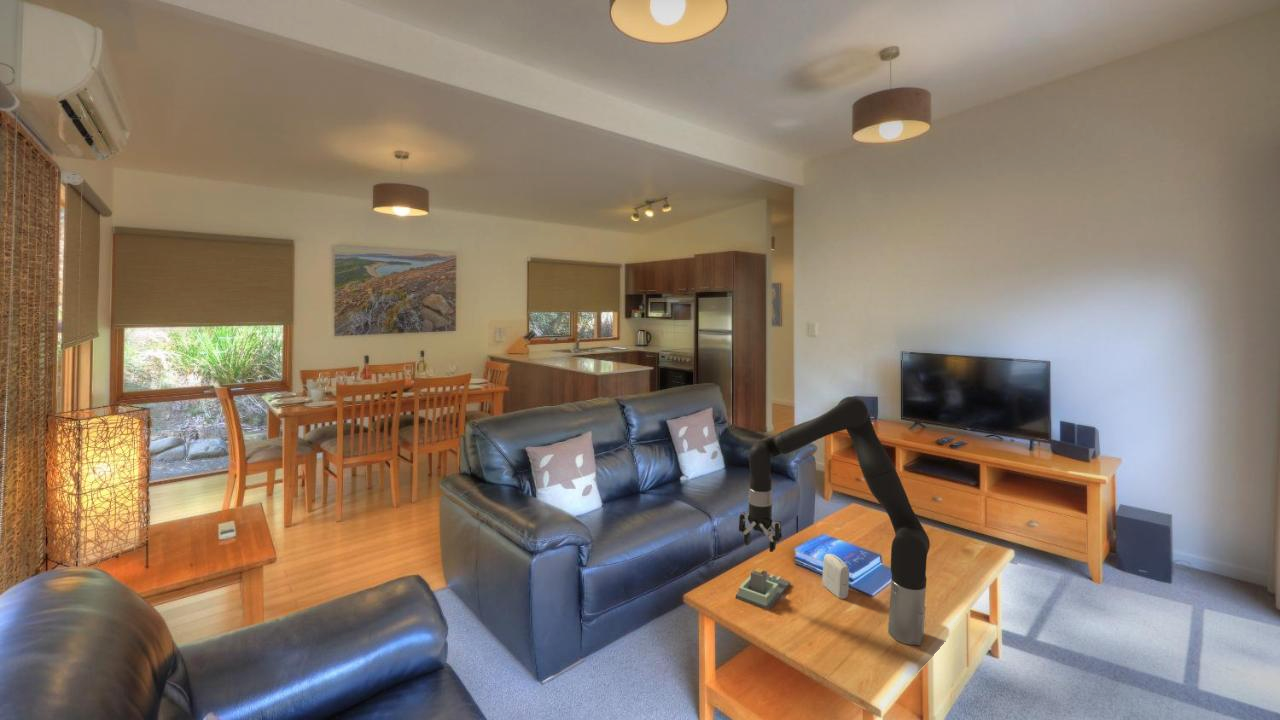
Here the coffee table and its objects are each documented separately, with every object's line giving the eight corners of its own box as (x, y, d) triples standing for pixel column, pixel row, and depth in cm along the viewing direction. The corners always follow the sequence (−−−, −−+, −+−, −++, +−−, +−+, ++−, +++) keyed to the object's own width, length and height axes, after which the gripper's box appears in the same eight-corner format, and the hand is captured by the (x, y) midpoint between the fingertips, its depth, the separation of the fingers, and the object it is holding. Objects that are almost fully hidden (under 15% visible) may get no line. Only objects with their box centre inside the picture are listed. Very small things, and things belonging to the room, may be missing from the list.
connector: (766, 593, 175) (766, 569, 174) (761, 598, 172) (762, 574, 171) (755, 589, 178) (755, 565, 177) (750, 594, 174) (750, 570, 173)
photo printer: (850, 598, 175) (851, 563, 173) (839, 600, 173) (841, 565, 172) (830, 582, 184) (832, 549, 183) (820, 584, 183) (821, 551, 182)
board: (790, 584, 183) (790, 575, 182) (769, 610, 167) (769, 600, 167) (758, 574, 190) (758, 564, 189) (735, 598, 175) (735, 587, 174)
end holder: (777, 592, 176) (778, 584, 176) (766, 606, 168) (766, 597, 168) (750, 582, 182) (751, 574, 181) (738, 595, 174) (738, 587, 173)
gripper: (785, 502, 170) (784, 549, 172) (745, 493, 178) (744, 538, 180) (776, 509, 164) (775, 558, 166) (735, 500, 172) (735, 546, 174)
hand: (759, 547), depth 173 cm, fingers open, 8 cm apart
